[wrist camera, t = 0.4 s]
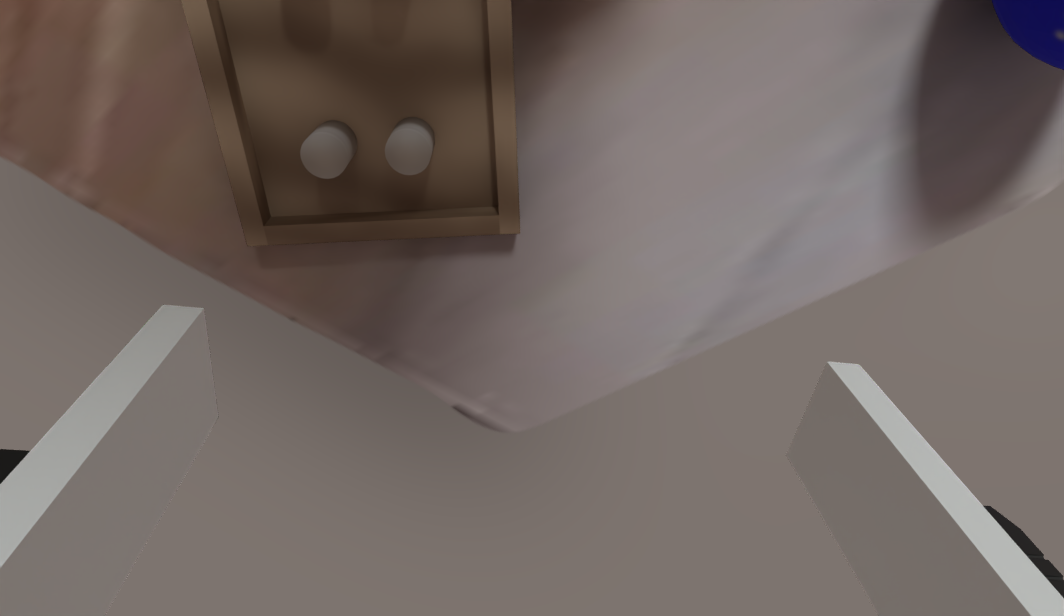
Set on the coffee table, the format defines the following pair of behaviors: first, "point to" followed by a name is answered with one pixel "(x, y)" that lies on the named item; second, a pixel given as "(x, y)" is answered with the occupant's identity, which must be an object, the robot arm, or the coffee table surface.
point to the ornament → (1035, 27)
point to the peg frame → (362, 116)
